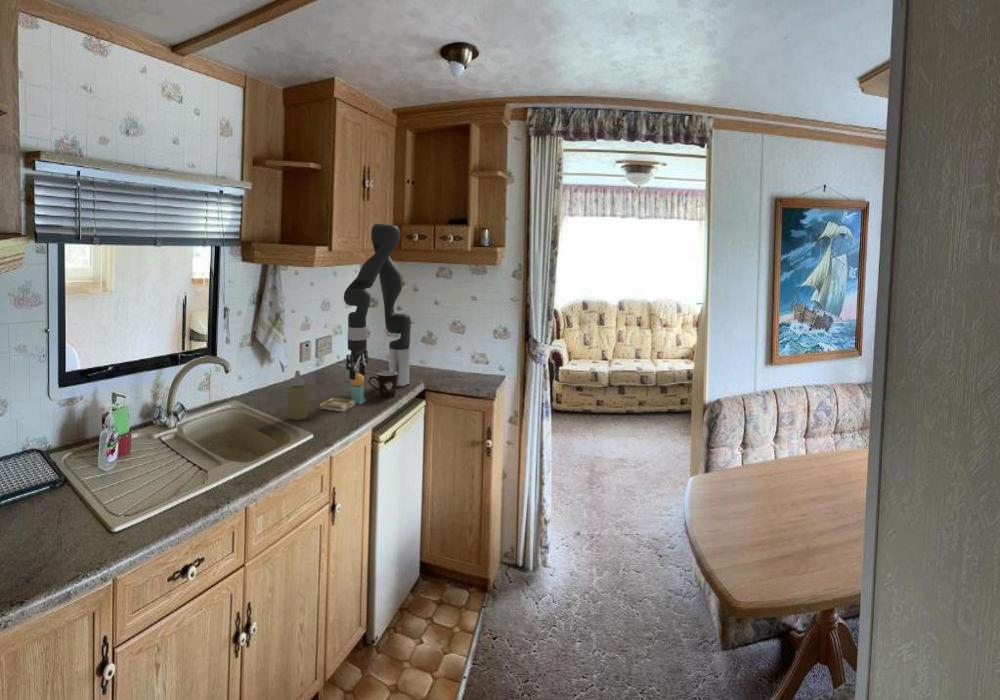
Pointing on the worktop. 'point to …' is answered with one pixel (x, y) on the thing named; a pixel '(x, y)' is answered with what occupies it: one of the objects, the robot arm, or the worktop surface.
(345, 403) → the tray
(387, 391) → the coffee mug
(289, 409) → the squeeze bottle
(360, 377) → the ball
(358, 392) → the teal box
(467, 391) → the worktop surface
